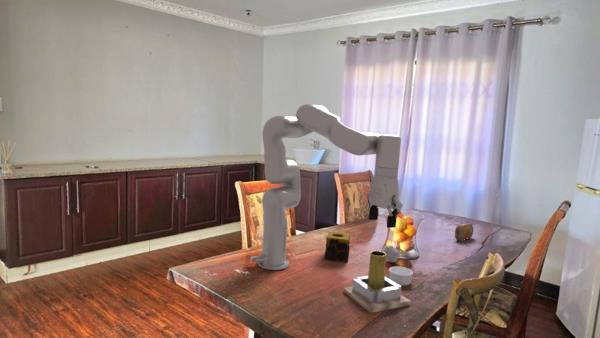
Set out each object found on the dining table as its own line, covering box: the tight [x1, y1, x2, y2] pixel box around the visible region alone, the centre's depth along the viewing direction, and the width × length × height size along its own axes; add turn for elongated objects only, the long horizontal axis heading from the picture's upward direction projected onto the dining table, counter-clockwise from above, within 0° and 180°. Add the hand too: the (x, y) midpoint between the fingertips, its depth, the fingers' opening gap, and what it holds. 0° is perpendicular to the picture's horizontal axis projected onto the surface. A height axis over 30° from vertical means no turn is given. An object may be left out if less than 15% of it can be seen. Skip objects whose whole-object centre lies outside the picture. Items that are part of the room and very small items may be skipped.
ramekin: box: [388, 266, 414, 286], centre depth 149 cm, size 9×9×4 cm
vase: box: [367, 250, 387, 290], centre depth 133 cm, size 6×6×14 cm
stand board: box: [342, 285, 411, 314], centre depth 134 cm, size 16×16×2 cm
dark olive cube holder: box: [323, 231, 351, 263], centre depth 171 cm, size 10×10×10 cm
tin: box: [454, 222, 474, 242], centre depth 210 cm, size 15×3×8 cm, turn 129°
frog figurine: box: [383, 245, 400, 263], centre depth 169 cm, size 6×7×7 cm
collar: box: [352, 275, 402, 304], centre depth 133 cm, size 12×12×4 cm
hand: (381, 223), depth 130 cm, fingers open, 9 cm apart
